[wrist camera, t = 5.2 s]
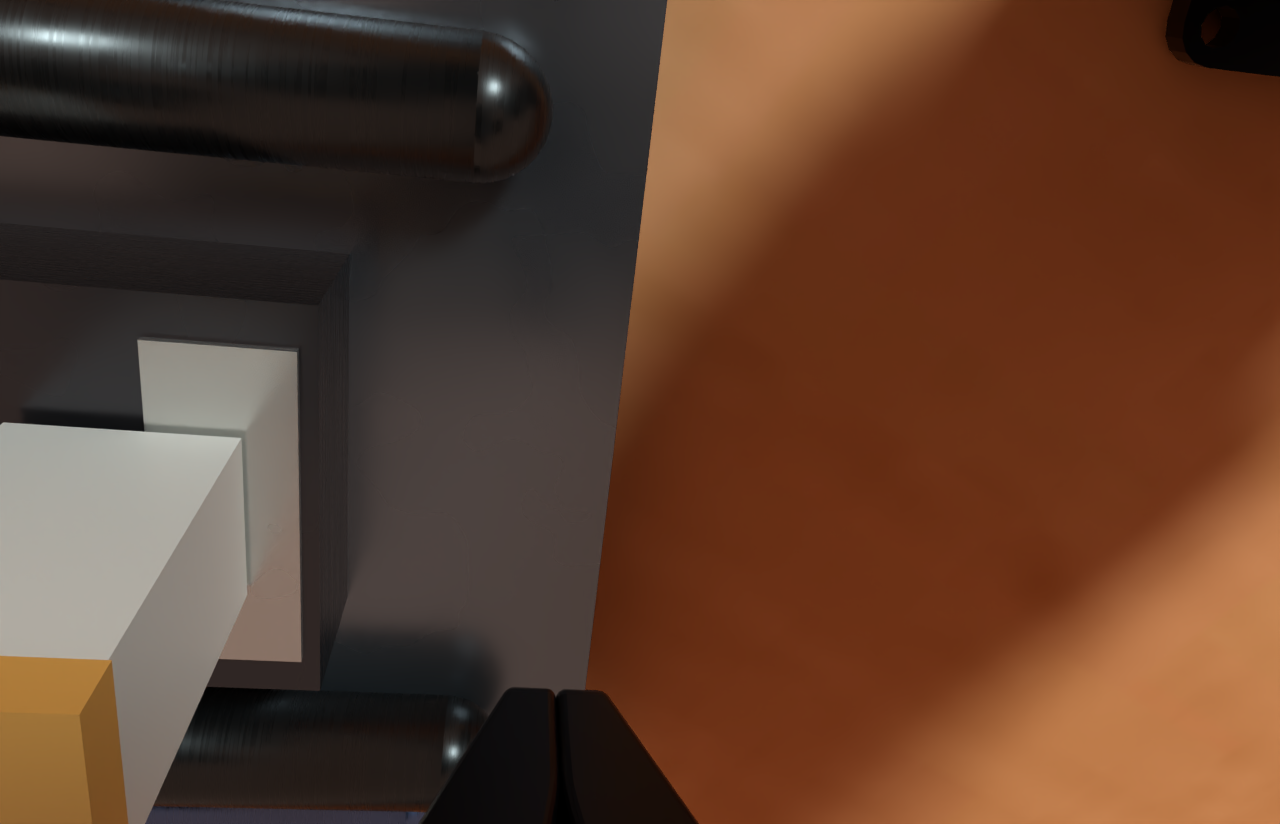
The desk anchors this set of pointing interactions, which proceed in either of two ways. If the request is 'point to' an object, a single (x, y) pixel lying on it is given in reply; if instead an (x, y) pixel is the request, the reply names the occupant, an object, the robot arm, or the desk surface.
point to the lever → (109, 611)
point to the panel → (455, 342)
